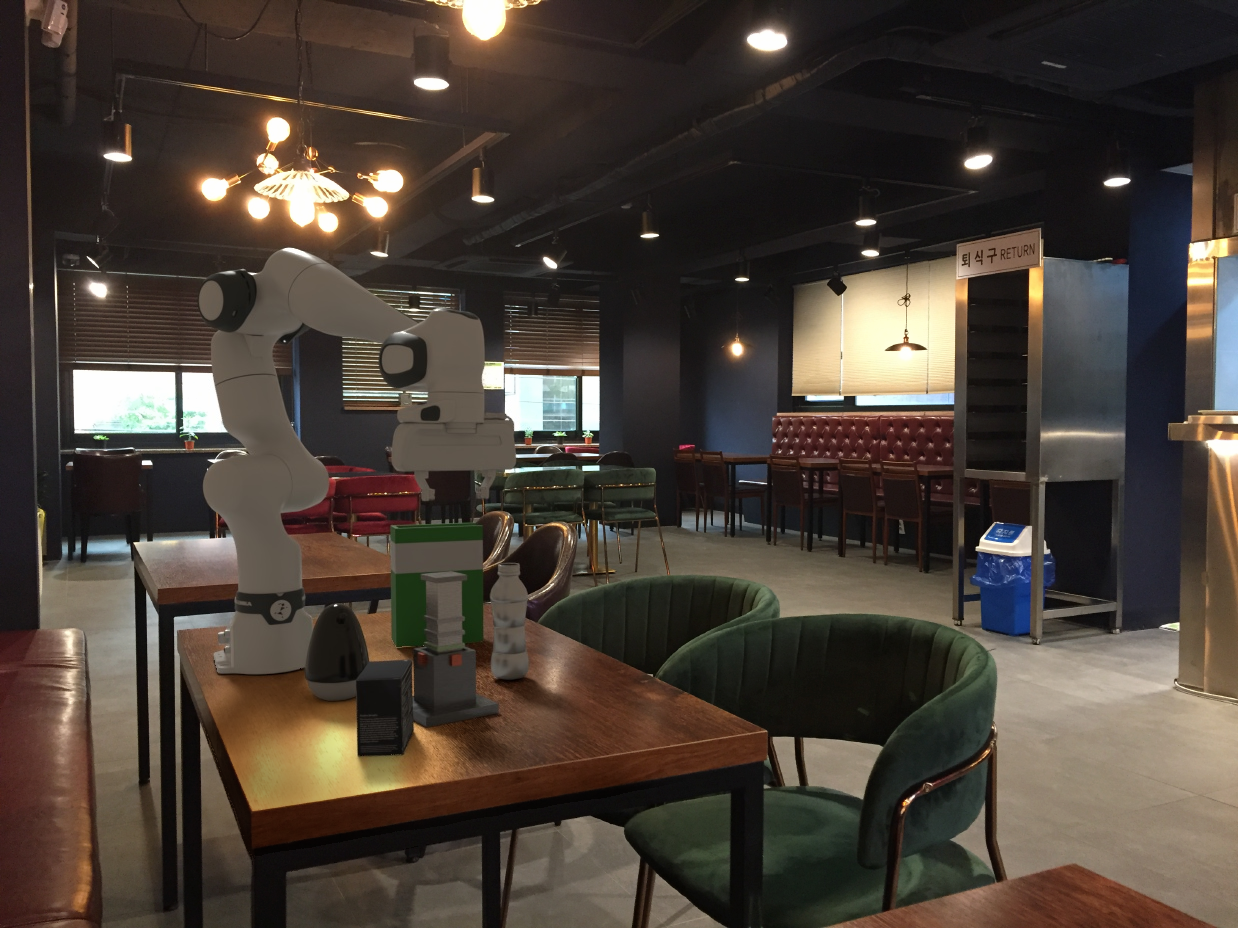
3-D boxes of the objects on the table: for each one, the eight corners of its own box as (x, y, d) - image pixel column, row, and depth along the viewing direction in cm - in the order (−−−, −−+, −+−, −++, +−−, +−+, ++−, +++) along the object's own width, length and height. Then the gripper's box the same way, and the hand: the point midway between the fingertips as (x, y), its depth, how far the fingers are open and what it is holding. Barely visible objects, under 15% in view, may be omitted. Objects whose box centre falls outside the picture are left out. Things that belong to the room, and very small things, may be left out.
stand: (391, 708, 149) (391, 647, 148) (461, 696, 156) (461, 637, 156) (426, 727, 139) (425, 662, 139) (498, 712, 146) (498, 650, 146)
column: (421, 669, 148) (420, 574, 147) (452, 665, 151) (451, 571, 150) (436, 676, 144) (435, 577, 143) (467, 671, 147) (467, 574, 146)
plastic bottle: (523, 684, 163) (522, 567, 163) (485, 682, 165) (484, 566, 164) (533, 675, 170) (533, 562, 169) (497, 673, 171) (496, 561, 170)
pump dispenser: (311, 708, 149) (310, 611, 148) (300, 693, 158) (298, 601, 158) (377, 700, 154) (376, 605, 153) (362, 685, 163) (361, 596, 162)
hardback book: (475, 634, 205) (475, 522, 204) (483, 641, 198) (482, 525, 197) (391, 641, 199) (390, 525, 198) (396, 648, 192) (395, 528, 191)
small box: (368, 732, 137) (367, 659, 137) (414, 731, 137) (414, 658, 137) (354, 757, 126) (353, 677, 126) (404, 755, 127) (403, 676, 127)
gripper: (504, 413, 160) (503, 496, 160) (387, 410, 148) (387, 500, 148) (523, 412, 155) (523, 498, 155) (404, 410, 143) (403, 503, 143)
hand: (455, 499), depth 151 cm, fingers open, 8 cm apart
